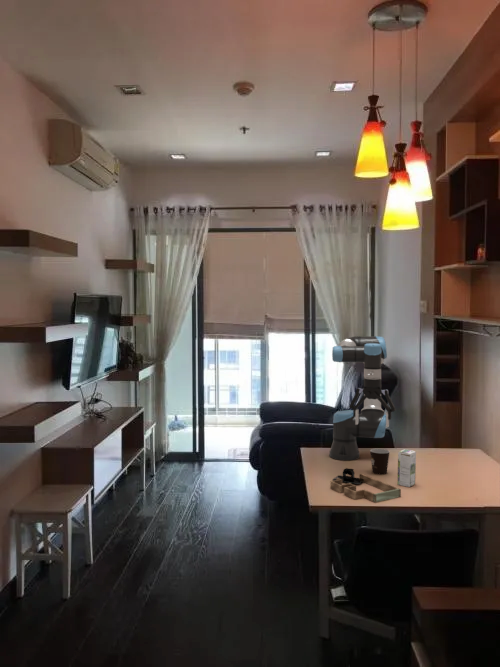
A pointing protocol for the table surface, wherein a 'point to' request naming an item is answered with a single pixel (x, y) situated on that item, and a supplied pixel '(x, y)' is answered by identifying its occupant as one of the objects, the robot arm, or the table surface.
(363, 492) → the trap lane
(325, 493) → the table surface
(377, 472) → the coffee mug
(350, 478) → the black notched block
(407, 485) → the syrup box
